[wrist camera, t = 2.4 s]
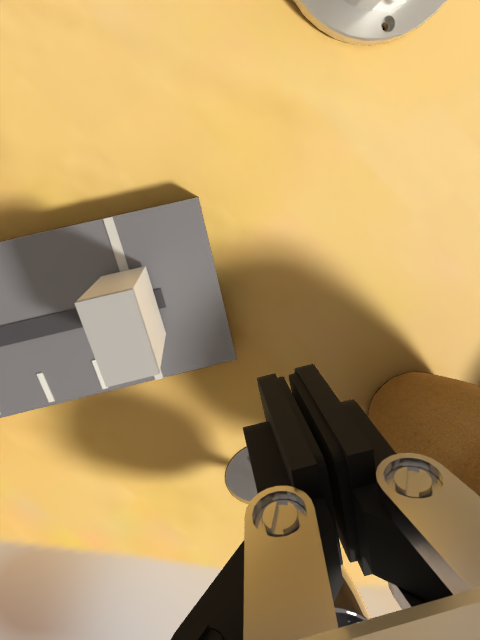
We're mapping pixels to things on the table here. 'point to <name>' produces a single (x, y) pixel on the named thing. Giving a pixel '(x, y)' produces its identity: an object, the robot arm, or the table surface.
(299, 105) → the table surface
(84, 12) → the table surface
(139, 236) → the console
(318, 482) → the robot arm
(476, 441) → the plant pot
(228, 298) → the table surface
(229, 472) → the wine glass
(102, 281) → the fader tab
